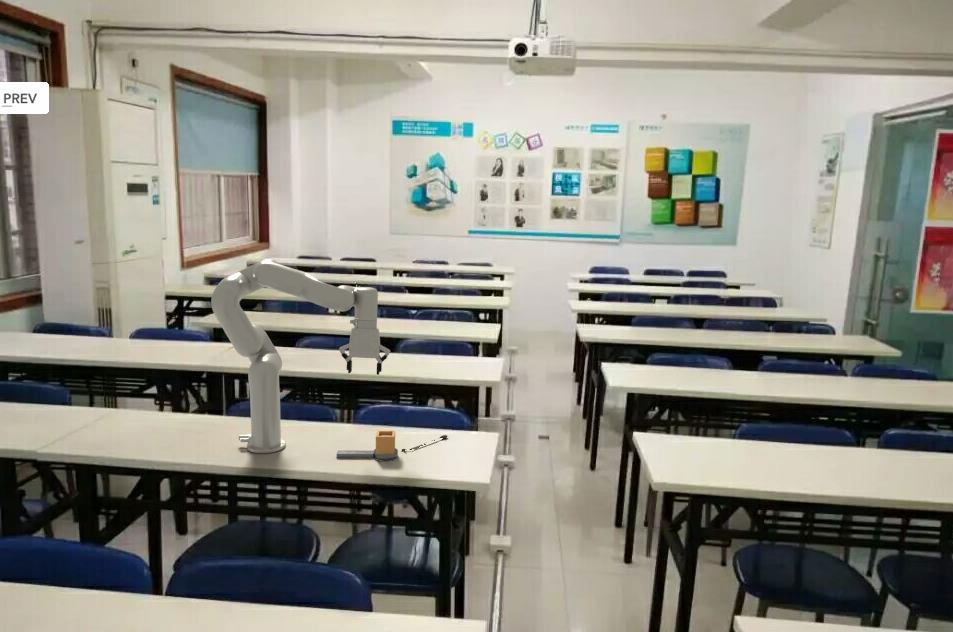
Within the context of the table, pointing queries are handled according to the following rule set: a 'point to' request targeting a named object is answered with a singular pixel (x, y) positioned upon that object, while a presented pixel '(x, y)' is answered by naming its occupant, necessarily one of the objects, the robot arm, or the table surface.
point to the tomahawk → (424, 443)
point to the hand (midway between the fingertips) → (364, 373)
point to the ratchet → (367, 454)
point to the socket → (385, 442)
